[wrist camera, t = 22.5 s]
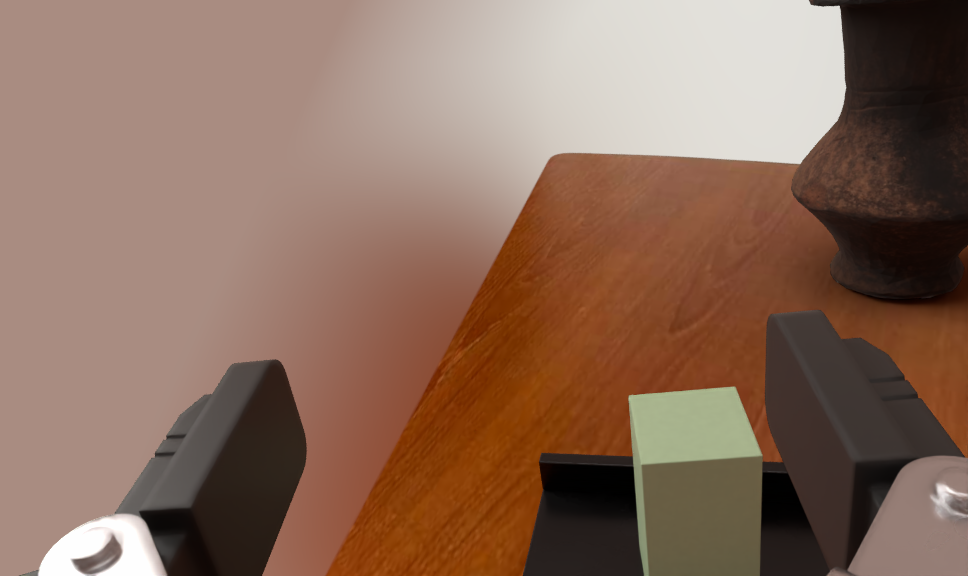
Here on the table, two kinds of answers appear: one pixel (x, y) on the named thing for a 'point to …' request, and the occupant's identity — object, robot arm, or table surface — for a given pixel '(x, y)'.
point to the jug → (896, 150)
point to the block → (696, 483)
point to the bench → (614, 525)
